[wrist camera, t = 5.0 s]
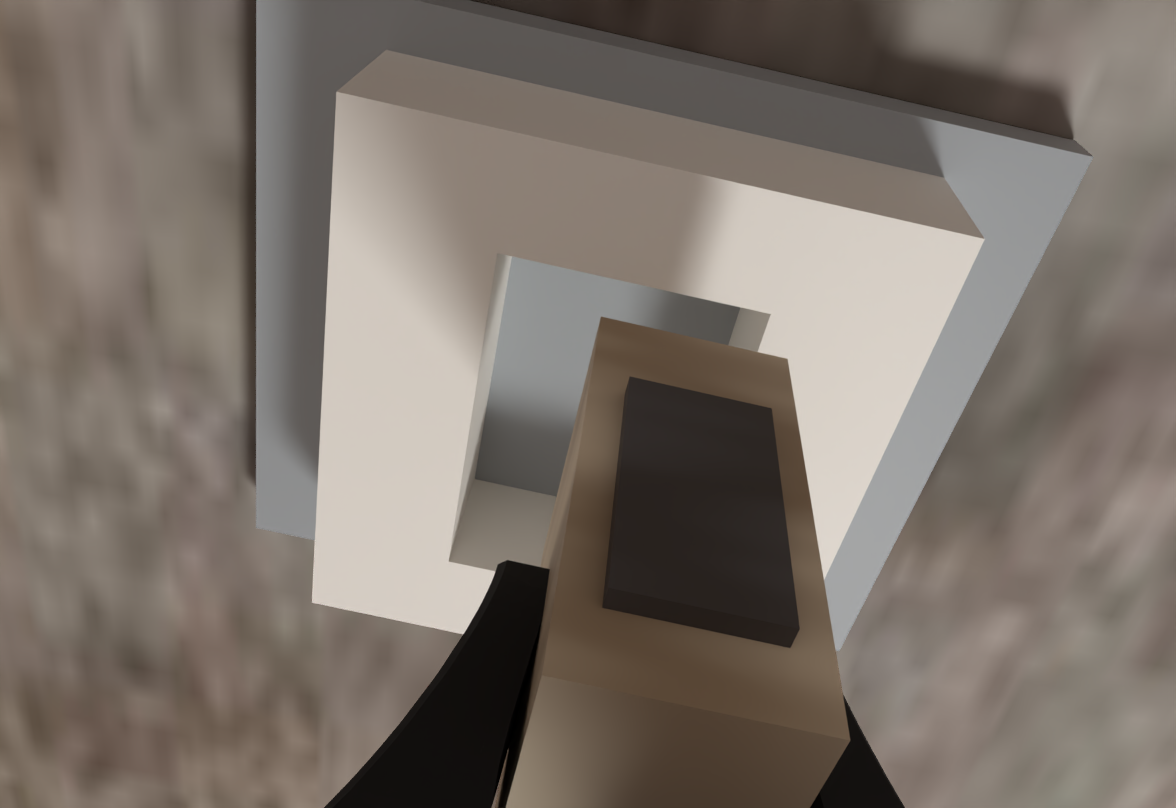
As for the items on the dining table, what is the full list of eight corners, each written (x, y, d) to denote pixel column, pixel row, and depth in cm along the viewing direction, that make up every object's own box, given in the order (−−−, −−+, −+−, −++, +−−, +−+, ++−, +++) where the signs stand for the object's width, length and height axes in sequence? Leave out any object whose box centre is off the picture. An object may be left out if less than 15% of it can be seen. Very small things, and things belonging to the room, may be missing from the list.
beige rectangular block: (794, 342, 14) (861, 721, 9) (701, 580, 17) (706, 979, 12) (604, 299, 14) (547, 655, 9) (544, 546, 17) (471, 932, 12)
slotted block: (1075, 140, 19) (1159, 216, 15) (834, 624, 26) (855, 744, 23) (276, -45, 18) (181, -8, 15) (270, 504, 26) (207, 609, 22)
